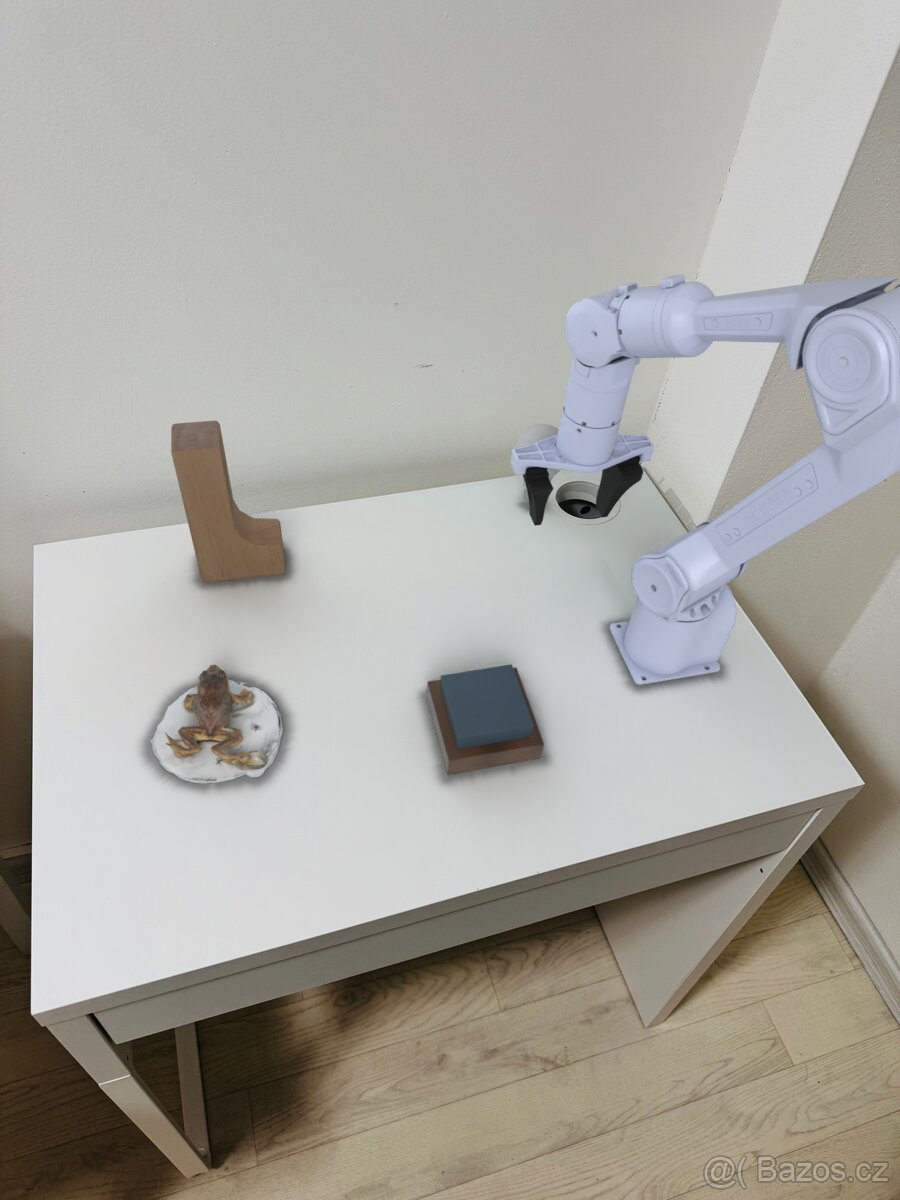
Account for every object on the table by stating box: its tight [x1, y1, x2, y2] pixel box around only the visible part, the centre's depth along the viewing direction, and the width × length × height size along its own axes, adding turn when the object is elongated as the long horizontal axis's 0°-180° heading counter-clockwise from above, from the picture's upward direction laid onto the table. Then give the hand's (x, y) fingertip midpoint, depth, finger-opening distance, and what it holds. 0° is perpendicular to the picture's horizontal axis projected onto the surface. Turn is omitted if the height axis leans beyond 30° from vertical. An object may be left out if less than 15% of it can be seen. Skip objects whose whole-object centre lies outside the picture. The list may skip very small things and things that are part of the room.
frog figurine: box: [149, 664, 284, 785], centre depth 77 cm, size 12×12×4 cm
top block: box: [439, 664, 533, 750], centre depth 78 cm, size 7×7×2 cm
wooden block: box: [170, 420, 287, 584], centre depth 86 cm, size 9×4×18 cm, turn 102°
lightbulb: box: [515, 423, 561, 504], centre depth 98 cm, size 6×6×11 cm
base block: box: [425, 667, 545, 776], centre depth 79 cm, size 9×9×2 cm
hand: (568, 515), depth 91 cm, fingers open, 7 cm apart
